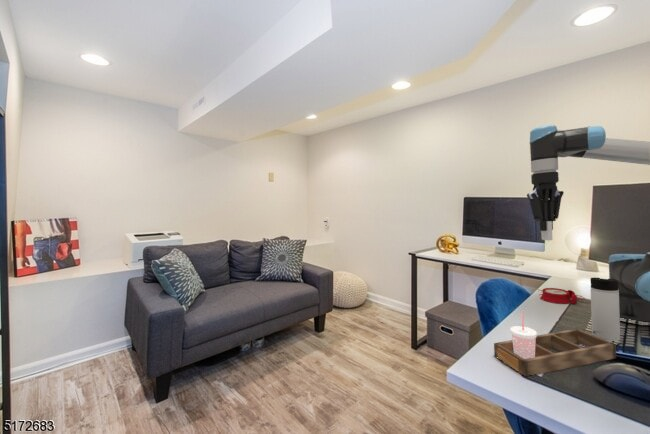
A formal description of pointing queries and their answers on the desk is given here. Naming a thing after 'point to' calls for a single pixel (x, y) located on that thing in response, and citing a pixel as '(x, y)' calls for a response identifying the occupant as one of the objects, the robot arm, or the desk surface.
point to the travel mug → (605, 309)
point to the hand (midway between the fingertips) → (546, 239)
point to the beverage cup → (523, 340)
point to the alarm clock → (559, 296)
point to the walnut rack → (564, 359)
